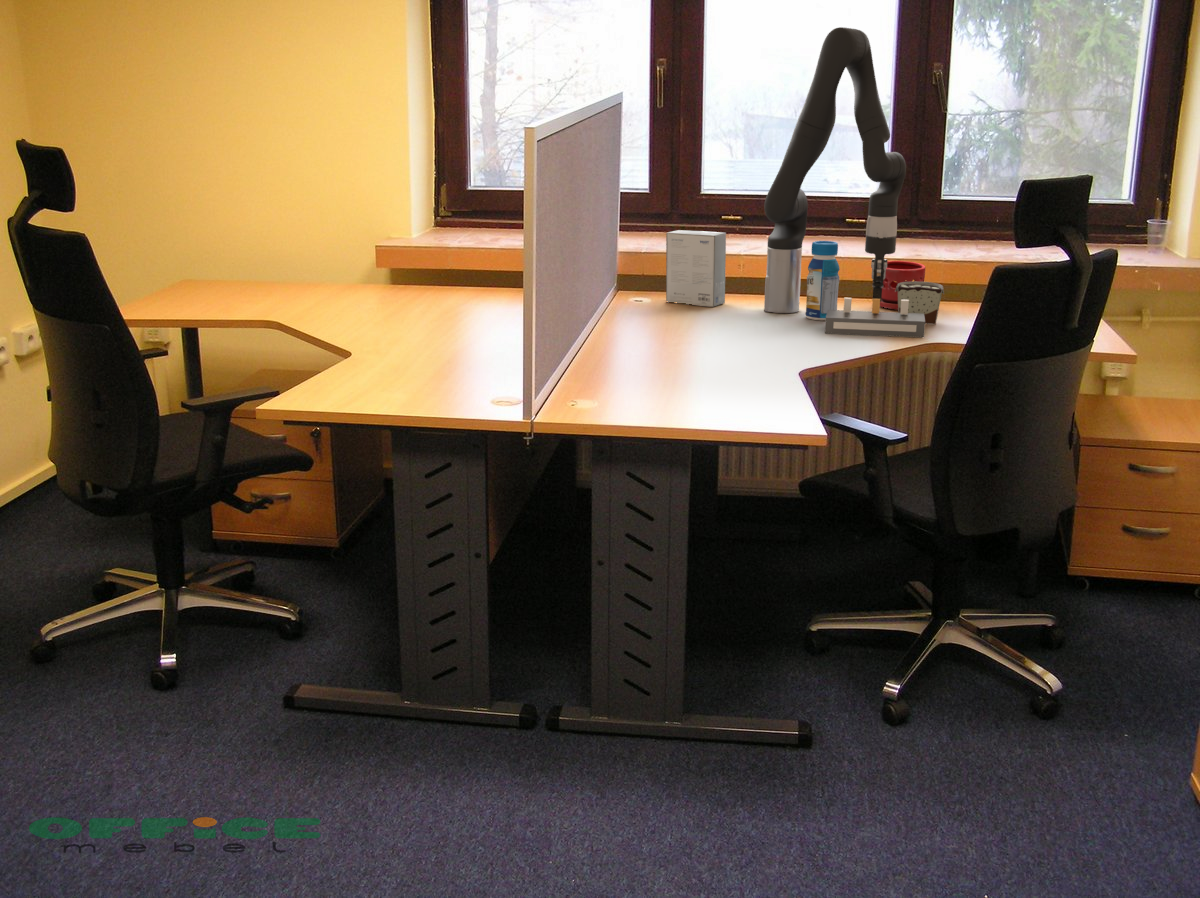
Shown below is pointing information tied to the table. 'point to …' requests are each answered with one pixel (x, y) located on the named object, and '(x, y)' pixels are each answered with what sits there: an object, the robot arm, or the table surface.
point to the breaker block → (875, 323)
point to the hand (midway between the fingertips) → (876, 301)
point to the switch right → (904, 307)
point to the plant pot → (899, 280)
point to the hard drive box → (695, 267)
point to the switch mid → (875, 306)
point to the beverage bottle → (822, 280)
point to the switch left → (847, 304)
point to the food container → (921, 298)
